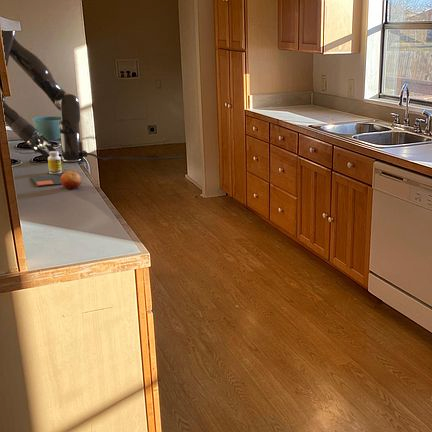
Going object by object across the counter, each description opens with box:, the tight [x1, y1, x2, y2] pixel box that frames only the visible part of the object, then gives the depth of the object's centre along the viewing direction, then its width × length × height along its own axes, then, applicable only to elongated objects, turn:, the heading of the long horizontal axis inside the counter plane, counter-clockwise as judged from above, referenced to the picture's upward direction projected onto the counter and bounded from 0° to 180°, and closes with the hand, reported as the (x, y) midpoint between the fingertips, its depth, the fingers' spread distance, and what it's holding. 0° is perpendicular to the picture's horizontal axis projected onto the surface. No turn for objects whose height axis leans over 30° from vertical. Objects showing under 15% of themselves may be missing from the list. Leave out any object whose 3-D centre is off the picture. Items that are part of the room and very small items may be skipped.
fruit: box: [61, 170, 82, 190], centre depth 236 cm, size 8×8×8 cm
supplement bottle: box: [47, 150, 63, 175], centre depth 259 cm, size 5×5×10 cm
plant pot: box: [32, 115, 61, 141], centre depth 336 cm, size 18×18×12 cm
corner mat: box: [31, 174, 62, 188], centre depth 247 cm, size 16×16×1 cm
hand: (52, 155), depth 258 cm, fingers open, 8 cm apart
